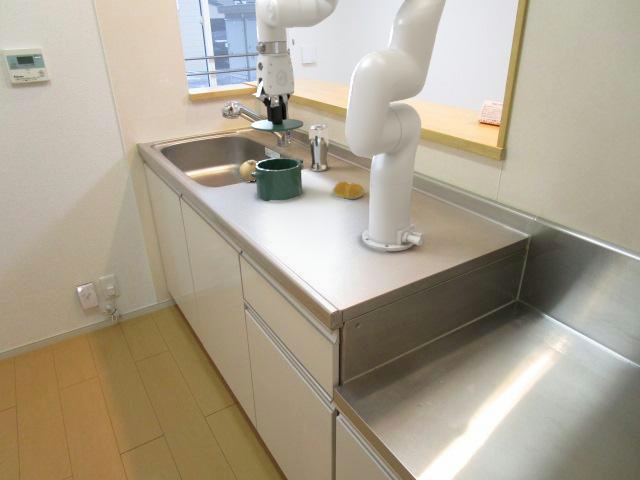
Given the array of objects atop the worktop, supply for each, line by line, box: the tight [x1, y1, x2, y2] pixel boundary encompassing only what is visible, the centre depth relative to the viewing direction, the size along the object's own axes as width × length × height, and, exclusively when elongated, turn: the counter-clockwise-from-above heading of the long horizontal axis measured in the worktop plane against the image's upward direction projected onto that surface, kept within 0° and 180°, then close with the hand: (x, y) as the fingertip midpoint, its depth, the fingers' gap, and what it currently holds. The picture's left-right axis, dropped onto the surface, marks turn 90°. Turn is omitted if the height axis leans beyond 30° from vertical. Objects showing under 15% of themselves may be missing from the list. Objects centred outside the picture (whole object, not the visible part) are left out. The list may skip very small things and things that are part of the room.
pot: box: [251, 157, 304, 202], centre depth 136 cm, size 14×19×10 cm
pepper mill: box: [308, 124, 330, 172], centre depth 158 cm, size 7×7×15 cm
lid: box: [250, 103, 304, 133], centre depth 125 cm, size 15×15×6 cm
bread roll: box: [332, 181, 364, 200], centre depth 135 cm, size 8×9×4 cm
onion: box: [238, 159, 259, 182], centre depth 150 cm, size 8×8×7 cm
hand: (277, 119), depth 126 cm, fingers closed on lid, 3 cm apart
